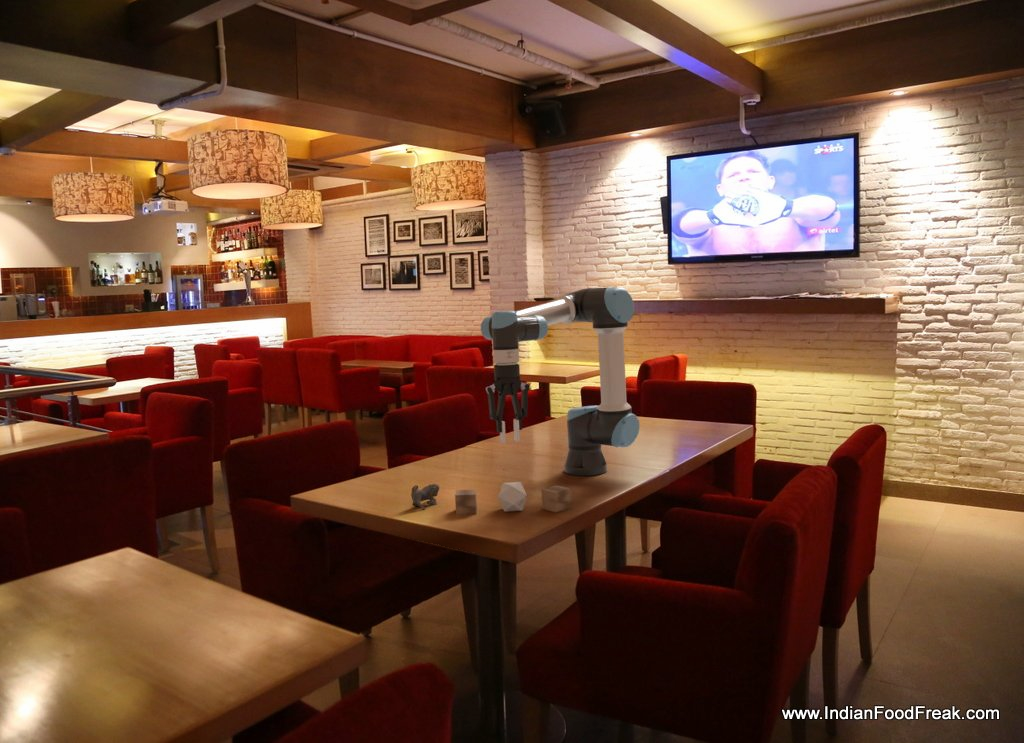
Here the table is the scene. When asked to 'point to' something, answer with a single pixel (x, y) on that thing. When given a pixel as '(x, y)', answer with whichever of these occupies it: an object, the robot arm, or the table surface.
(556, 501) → the walnut block
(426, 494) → the dog figurine
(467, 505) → the walnut block
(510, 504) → the die
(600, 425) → the robot arm
